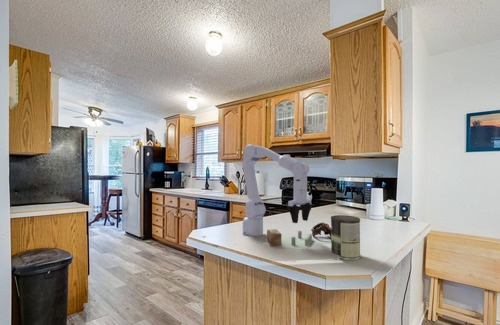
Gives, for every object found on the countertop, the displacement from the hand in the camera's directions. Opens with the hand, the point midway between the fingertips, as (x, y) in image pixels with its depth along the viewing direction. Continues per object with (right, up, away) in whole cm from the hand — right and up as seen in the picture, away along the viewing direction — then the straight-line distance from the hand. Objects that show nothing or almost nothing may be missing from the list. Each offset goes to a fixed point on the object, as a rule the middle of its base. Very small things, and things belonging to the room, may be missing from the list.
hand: (300, 221), depth 106 cm
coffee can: (+14, -9, -14) cm, 22 cm away
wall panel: (-5, -10, -1) cm, 11 cm away
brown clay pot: (+13, -11, +11) cm, 20 cm away
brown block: (-12, -8, -3) cm, 15 cm away
